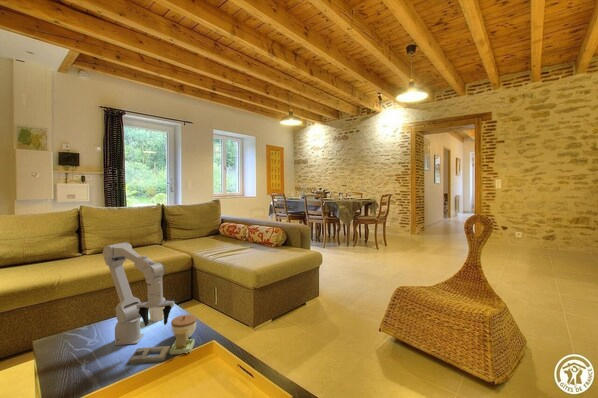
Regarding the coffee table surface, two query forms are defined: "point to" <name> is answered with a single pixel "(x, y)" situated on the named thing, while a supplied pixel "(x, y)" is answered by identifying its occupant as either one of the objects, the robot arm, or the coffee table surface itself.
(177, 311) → the coffee table surface
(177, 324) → the lidded jar
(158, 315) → the white cup
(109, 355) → the coffee table surface
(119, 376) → the coffee table surface
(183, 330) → the upright wooden block
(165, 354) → the grey rectangular frame
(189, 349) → the parts tray
